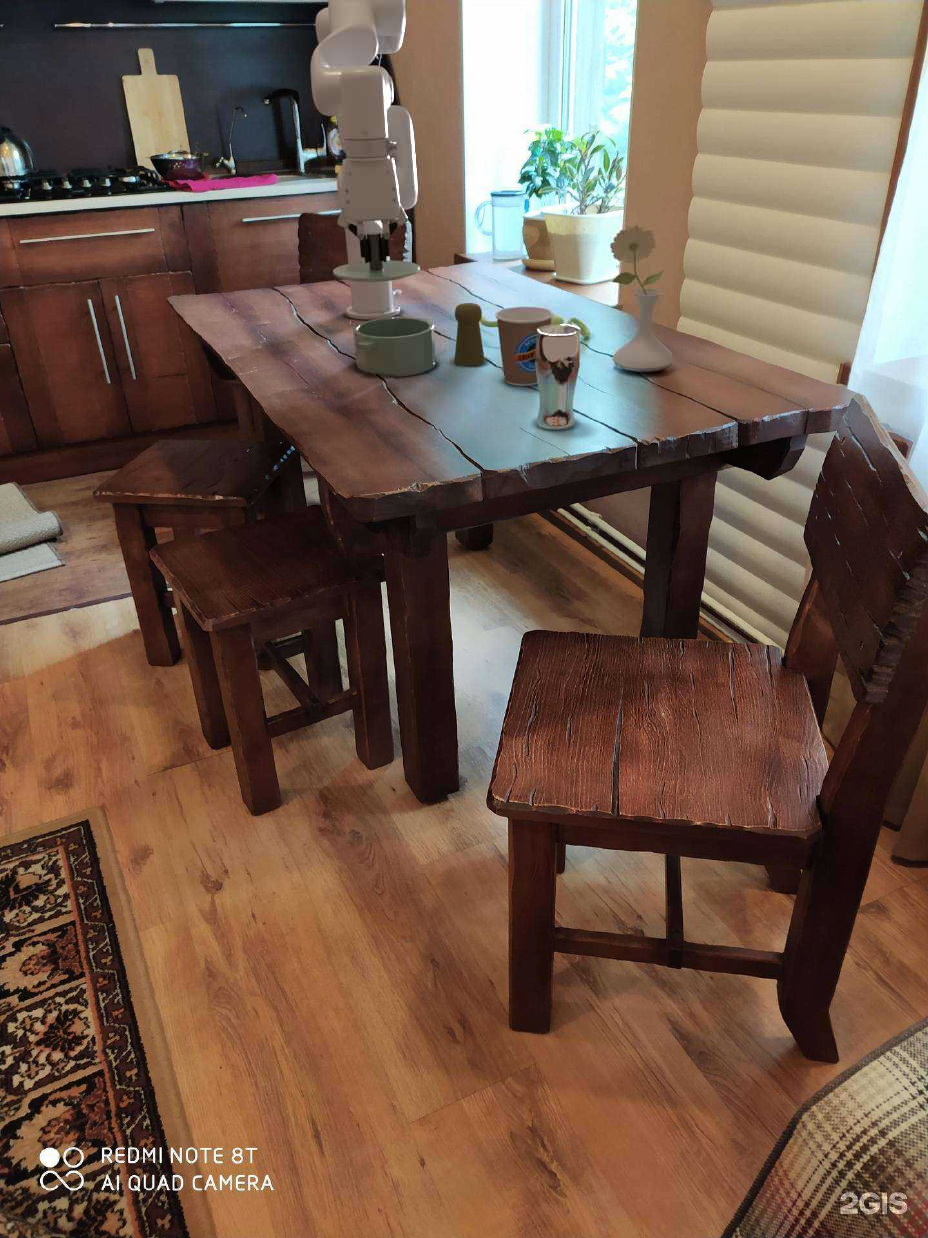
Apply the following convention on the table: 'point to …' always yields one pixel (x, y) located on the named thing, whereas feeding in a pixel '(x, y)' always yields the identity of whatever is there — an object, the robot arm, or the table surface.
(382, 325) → the pot
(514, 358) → the coffee cup
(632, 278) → the flower in vase
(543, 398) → the beer glass
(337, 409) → the table surface
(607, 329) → the table surface
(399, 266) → the lid
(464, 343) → the cork
